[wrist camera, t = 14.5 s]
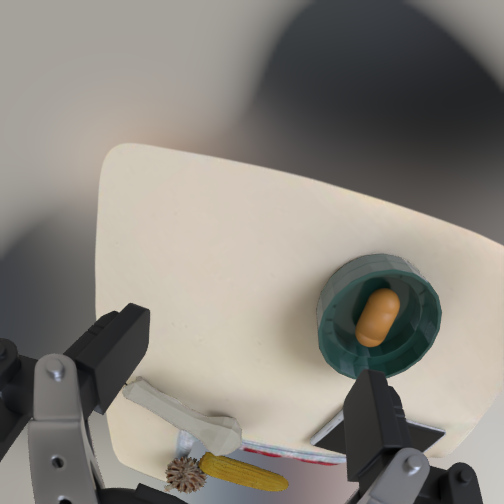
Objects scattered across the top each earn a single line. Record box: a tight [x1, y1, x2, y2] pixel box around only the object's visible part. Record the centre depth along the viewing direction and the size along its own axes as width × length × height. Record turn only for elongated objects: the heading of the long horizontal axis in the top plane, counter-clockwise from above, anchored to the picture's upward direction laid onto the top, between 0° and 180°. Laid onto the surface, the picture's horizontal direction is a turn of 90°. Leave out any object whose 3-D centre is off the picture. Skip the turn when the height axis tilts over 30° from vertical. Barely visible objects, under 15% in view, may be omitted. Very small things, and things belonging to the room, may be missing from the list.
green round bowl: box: [317, 254, 442, 379], centre depth 36 cm, size 16×16×6 cm
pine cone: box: [164, 456, 207, 494], centre depth 54 cm, size 22×10×10 cm, turn 154°
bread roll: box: [355, 288, 400, 347], centre depth 36 cm, size 8×4×4 cm, turn 166°
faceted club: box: [123, 377, 242, 456], centre depth 47 cm, size 9×8×25 cm
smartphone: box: [310, 409, 446, 454], centre depth 46 cm, size 13×27×2 cm, turn 64°
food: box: [198, 452, 288, 491], centre depth 52 cm, size 21×6×6 cm, turn 67°
